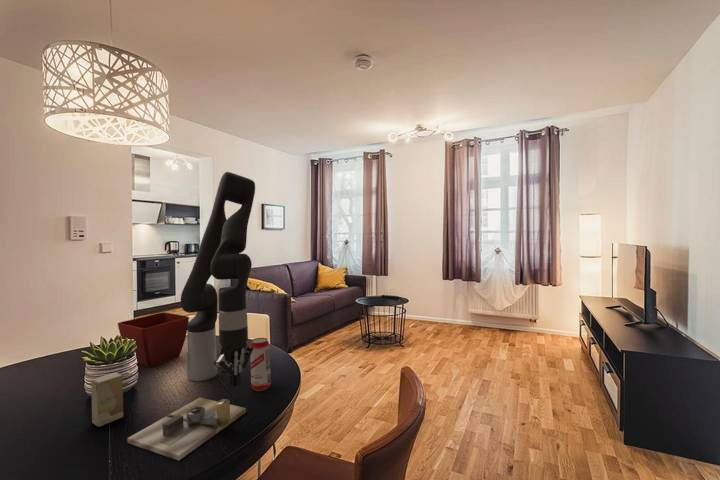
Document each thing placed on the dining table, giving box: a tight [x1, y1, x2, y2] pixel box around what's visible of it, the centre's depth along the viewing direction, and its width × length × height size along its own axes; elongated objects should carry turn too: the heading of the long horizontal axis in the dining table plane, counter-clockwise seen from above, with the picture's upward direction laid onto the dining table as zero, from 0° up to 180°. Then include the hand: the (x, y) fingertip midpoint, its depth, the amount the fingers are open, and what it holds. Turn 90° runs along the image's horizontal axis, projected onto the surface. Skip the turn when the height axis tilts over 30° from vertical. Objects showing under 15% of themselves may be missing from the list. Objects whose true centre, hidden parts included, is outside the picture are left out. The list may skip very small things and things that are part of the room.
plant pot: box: [117, 312, 190, 368], centre depth 141 cm, size 19×19×17 cm
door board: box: [126, 397, 247, 462], centre depth 92 cm, size 18×22×4 cm
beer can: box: [249, 337, 272, 392], centre depth 113 cm, size 6×6×16 cm
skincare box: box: [90, 372, 124, 428], centre depth 96 cm, size 6×4×12 cm
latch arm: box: [187, 398, 231, 427], centre depth 90 cm, size 12×4×6 cm, turn 80°
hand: (235, 386), depth 96 cm, fingers closed
